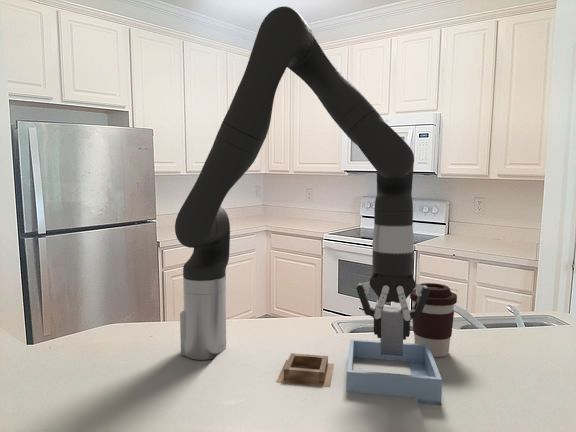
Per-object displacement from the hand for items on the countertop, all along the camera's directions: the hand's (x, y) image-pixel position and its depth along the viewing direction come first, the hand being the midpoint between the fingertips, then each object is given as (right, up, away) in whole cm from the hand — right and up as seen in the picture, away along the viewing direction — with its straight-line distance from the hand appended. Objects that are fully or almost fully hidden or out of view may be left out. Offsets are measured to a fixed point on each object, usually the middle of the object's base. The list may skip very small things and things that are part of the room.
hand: (391, 337), depth 80 cm
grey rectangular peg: (0, -3, 0) cm, 3 cm away
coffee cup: (+13, -8, +15) cm, 21 cm away
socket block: (-16, -8, +2) cm, 18 cm away
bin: (0, -8, +1) cm, 8 cm away
